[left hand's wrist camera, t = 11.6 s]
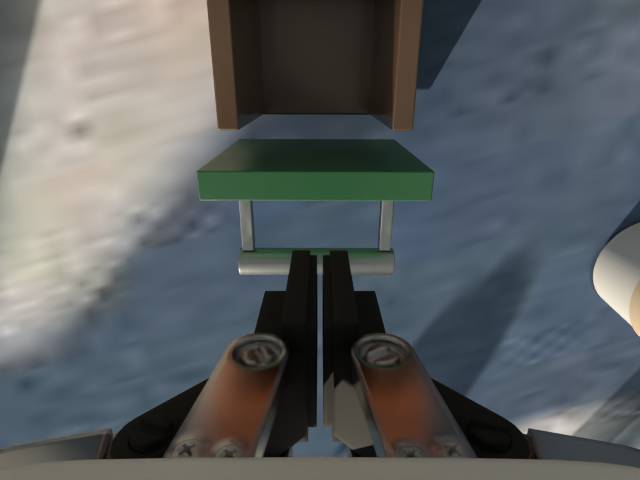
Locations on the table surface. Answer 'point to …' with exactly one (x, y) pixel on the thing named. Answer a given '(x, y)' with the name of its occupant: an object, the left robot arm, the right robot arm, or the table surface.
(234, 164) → the drawer
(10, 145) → the table surface
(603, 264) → the coffee cup
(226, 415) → the left robot arm
